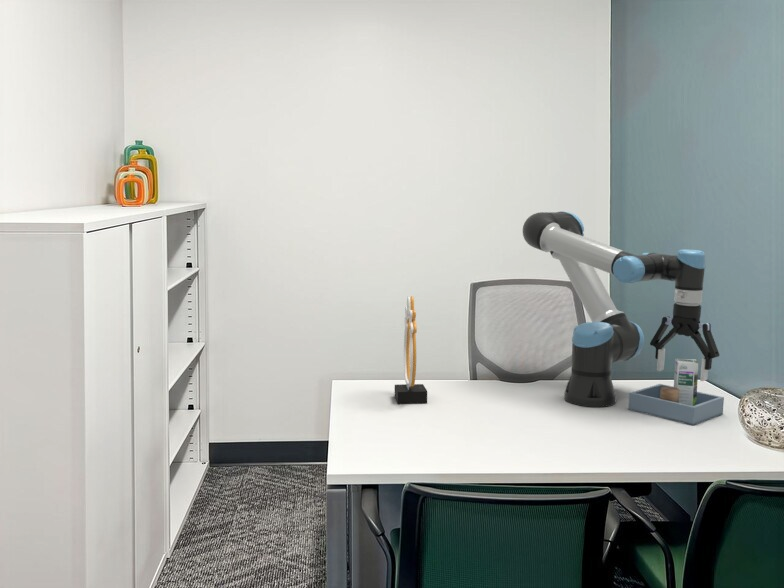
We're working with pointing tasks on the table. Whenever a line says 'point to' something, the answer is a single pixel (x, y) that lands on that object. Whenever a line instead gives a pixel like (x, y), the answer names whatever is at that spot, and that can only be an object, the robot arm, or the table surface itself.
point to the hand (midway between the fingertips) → (681, 375)
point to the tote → (675, 406)
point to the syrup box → (686, 380)
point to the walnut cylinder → (669, 394)
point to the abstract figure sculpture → (410, 362)
